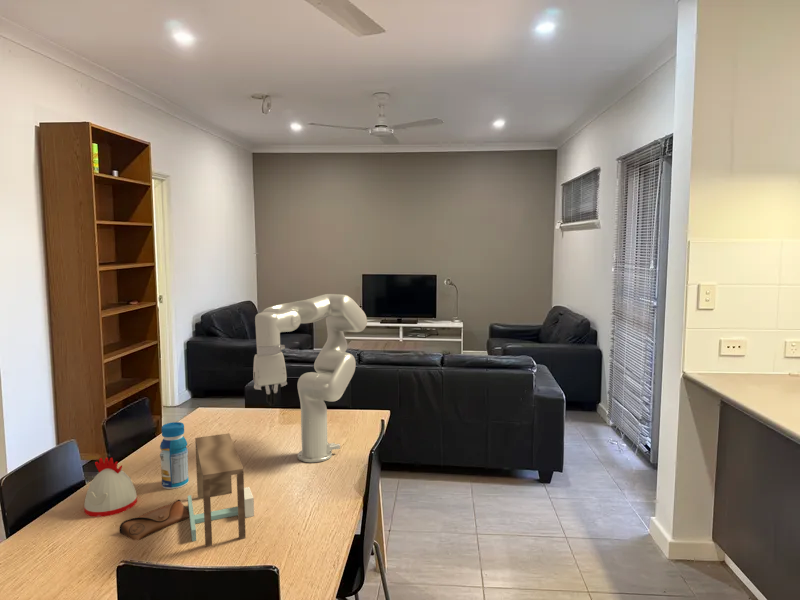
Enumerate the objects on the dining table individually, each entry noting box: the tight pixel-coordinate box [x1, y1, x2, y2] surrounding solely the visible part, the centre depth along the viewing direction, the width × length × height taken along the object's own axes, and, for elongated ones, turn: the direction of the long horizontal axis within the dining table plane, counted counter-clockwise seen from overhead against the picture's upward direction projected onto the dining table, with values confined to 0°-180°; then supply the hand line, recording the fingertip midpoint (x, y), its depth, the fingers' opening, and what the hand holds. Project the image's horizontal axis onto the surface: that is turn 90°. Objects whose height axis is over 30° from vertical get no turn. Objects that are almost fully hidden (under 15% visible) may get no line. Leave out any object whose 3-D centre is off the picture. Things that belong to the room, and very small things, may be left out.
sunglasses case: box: [119, 499, 190, 541], centre depth 149 cm, size 18×7×7 cm
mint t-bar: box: [187, 486, 255, 542], centre depth 152 cm, size 17×22×5 cm
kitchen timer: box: [83, 457, 138, 518], centre depth 159 cm, size 14×14×15 cm
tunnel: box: [194, 432, 247, 548], centre depth 152 cm, size 10×30×19 cm, turn 24°
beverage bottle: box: [159, 421, 190, 490], centre depth 173 cm, size 8×8×20 cm
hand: (271, 404), depth 175 cm, fingers closed
